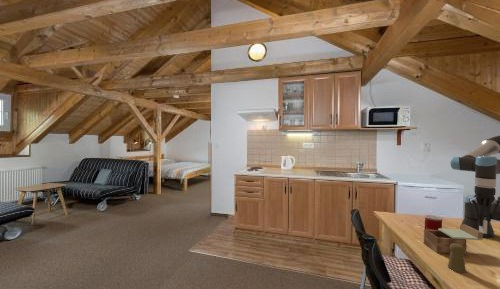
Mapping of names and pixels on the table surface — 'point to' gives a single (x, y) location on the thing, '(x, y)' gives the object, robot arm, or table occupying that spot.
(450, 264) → the cork
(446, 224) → the table surface
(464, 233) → the lid
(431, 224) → the canned food
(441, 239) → the box
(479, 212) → the robot arm
